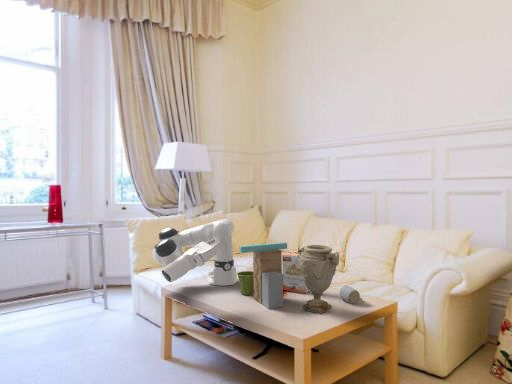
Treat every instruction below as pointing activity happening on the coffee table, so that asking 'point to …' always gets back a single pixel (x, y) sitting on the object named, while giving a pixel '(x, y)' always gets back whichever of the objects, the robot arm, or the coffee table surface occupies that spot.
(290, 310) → the coffee table surface
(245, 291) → the plant pot
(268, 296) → the grey block
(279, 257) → the walnut tower
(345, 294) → the ceramic mug
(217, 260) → the robot arm
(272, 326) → the coffee table surface
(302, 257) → the urn
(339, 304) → the coffee table surface
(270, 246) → the teal bar
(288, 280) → the cracker box
